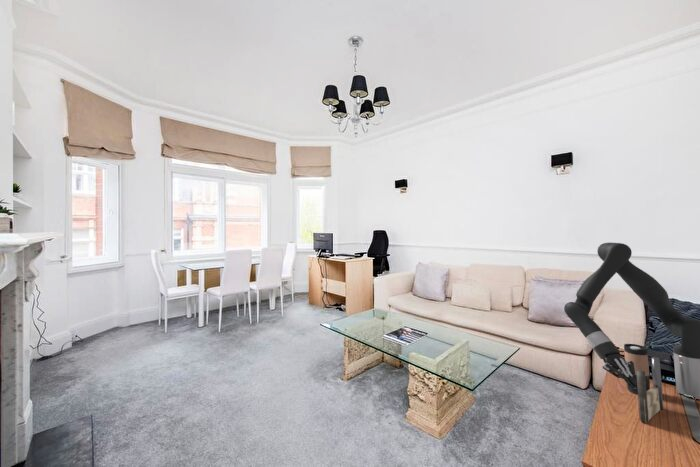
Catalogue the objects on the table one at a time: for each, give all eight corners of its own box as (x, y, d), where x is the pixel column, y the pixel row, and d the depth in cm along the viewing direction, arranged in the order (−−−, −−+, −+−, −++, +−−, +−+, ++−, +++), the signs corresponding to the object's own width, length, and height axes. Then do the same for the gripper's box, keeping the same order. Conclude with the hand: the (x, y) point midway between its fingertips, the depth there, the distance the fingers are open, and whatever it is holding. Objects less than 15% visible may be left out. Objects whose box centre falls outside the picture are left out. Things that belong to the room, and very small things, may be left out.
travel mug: (640, 387, 133) (637, 343, 134) (656, 396, 126) (652, 349, 126) (622, 387, 134) (619, 343, 135) (636, 396, 126) (633, 349, 127)
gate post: (658, 406, 119) (654, 356, 119) (665, 409, 116) (661, 359, 117) (653, 407, 118) (649, 357, 119) (660, 410, 116) (656, 359, 116)
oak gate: (653, 407, 117) (649, 361, 118) (661, 410, 115) (657, 363, 116) (638, 420, 110) (634, 370, 110) (647, 423, 108) (643, 373, 108)
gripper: (594, 342, 120) (628, 386, 108) (621, 339, 122) (658, 382, 110) (583, 350, 126) (614, 393, 113) (609, 347, 127) (643, 389, 115)
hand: (636, 388), depth 111 cm, fingers closed
